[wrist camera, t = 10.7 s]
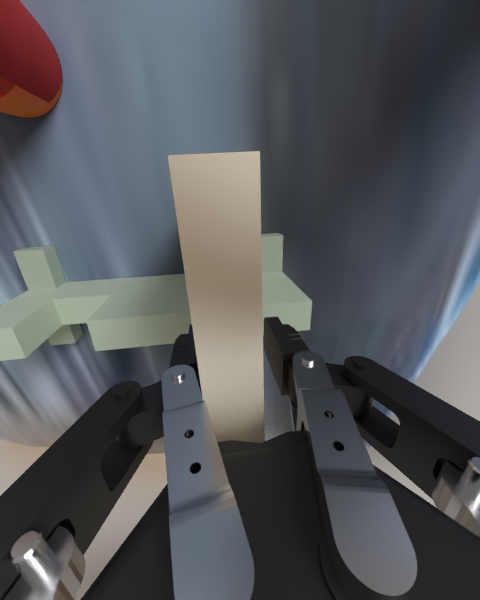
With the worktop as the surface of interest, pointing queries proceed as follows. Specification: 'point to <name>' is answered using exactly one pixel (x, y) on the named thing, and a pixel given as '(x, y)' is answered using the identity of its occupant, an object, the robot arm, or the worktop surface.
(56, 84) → the paper cup
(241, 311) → the beige flat panel
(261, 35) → the worktop surface
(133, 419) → the robot arm
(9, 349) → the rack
